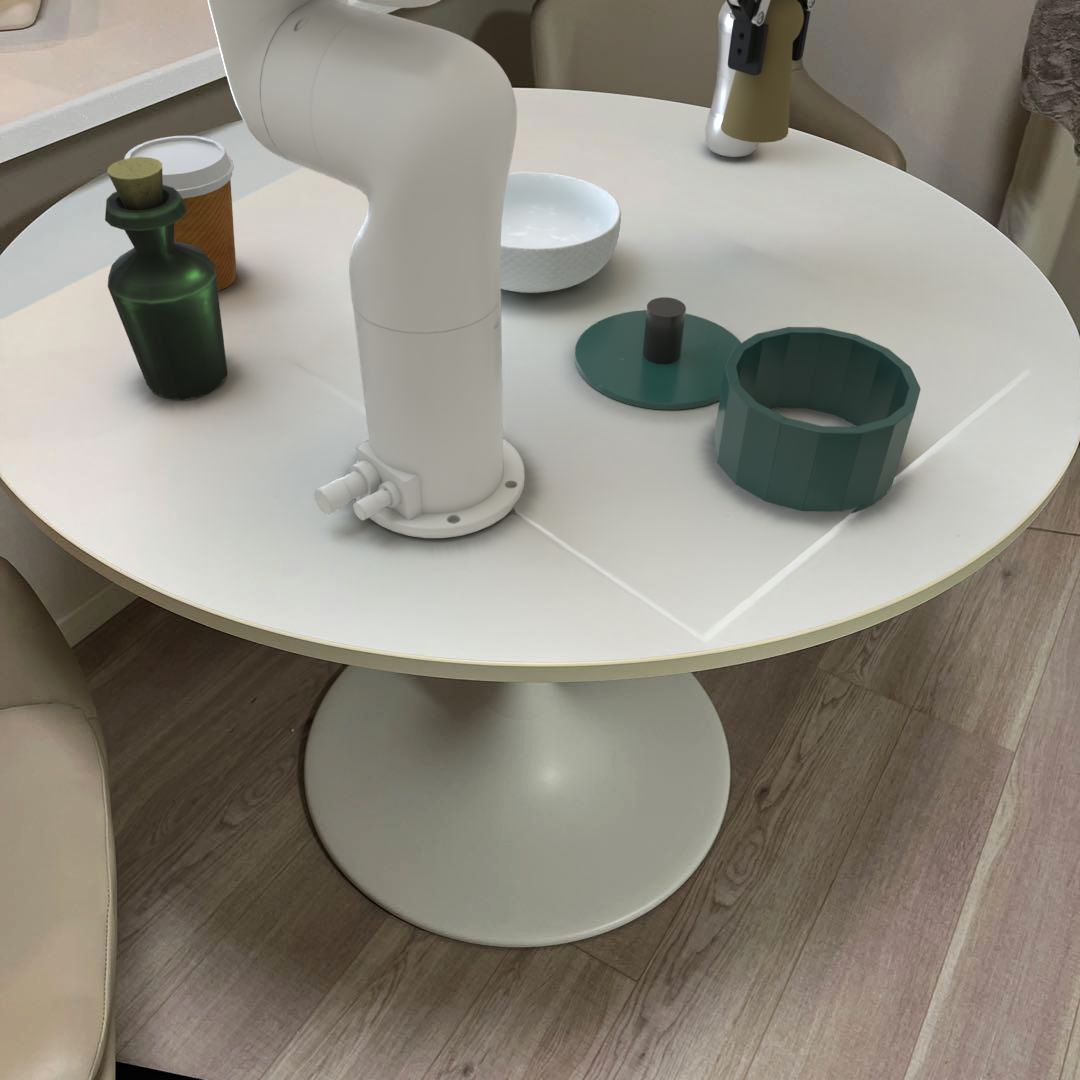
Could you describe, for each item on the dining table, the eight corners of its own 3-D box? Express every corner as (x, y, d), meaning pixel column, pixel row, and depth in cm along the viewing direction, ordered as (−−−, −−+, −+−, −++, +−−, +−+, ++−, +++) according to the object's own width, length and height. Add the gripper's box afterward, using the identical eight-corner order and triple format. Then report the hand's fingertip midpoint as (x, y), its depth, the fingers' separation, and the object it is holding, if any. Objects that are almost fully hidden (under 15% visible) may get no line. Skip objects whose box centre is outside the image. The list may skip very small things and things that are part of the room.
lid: (671, 439, 82) (678, 377, 79) (538, 364, 90) (539, 305, 86) (781, 367, 90) (793, 308, 86) (651, 304, 98) (656, 247, 94)
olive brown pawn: (787, 145, 92) (811, 9, 85) (718, 138, 93) (736, 3, 86) (788, 121, 97) (812, -10, 90) (723, 115, 98) (741, -16, 90)
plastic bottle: (719, 167, 121) (744, -25, 108) (692, 145, 126) (713, -41, 112) (768, 159, 123) (799, -30, 109) (740, 138, 127) (766, -46, 114)
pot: (827, 543, 74) (850, 458, 69) (677, 457, 81) (688, 374, 76) (927, 460, 81) (955, 377, 76) (781, 387, 88) (797, 308, 83)
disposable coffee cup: (268, 287, 99) (246, 162, 91) (168, 313, 95) (136, 185, 87) (234, 247, 105) (210, 126, 97) (138, 270, 101) (105, 146, 93)
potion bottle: (249, 392, 86) (205, 179, 74) (148, 417, 84) (85, 200, 72) (224, 344, 92) (179, 138, 80) (128, 366, 89) (67, 156, 77)
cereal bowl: (653, 283, 101) (659, 213, 96) (515, 340, 93) (515, 267, 88) (541, 220, 110) (542, 154, 106) (408, 267, 103) (403, 197, 98)
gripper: (826, -203, 86) (786, 35, 98) (694, -186, 77) (668, 74, 89) (907, -192, 82) (855, 54, 94) (779, -173, 73) (739, 97, 85)
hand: (765, 61), depth 91 cm, fingers closed on olive brown pawn, 5 cm apart
